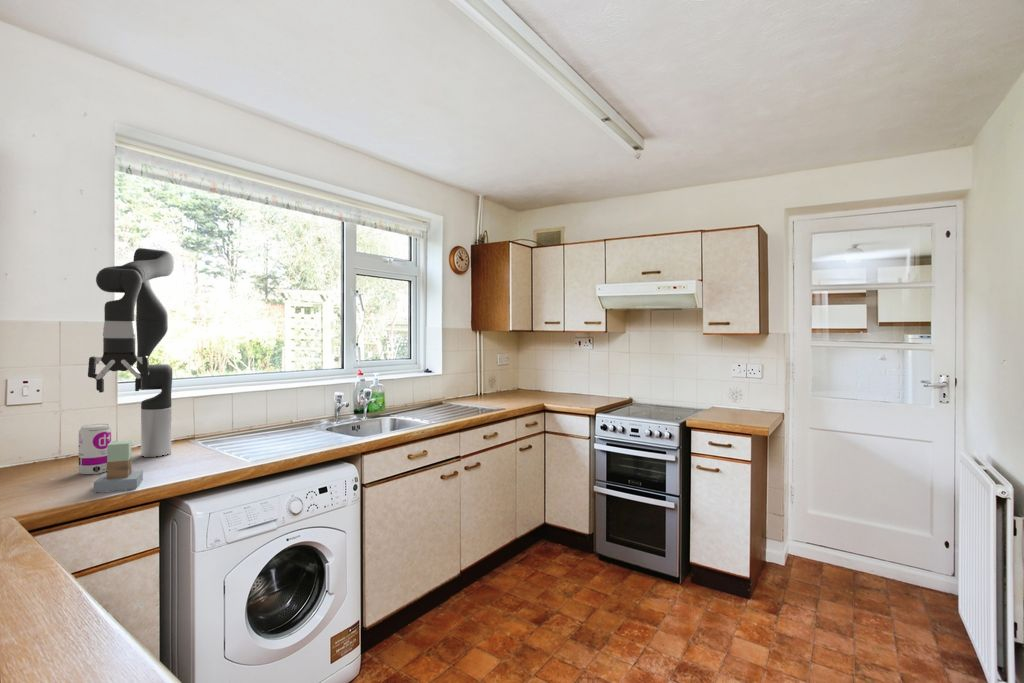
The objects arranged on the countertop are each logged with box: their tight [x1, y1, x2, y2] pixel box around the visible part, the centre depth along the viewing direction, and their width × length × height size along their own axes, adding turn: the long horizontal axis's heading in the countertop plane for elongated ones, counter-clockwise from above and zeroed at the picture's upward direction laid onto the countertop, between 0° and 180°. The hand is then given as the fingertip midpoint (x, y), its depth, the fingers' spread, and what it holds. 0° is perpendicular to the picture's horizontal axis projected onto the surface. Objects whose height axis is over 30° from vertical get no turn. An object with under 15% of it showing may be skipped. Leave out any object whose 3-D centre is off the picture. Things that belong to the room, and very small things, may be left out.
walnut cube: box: [106, 457, 132, 479], centre depth 152 cm, size 5×5×5 cm
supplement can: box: [78, 423, 112, 475], centre depth 166 cm, size 8×8×15 cm
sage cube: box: [107, 439, 132, 462], centre depth 152 cm, size 5×5×5 cm
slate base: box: [93, 469, 144, 494], centre depth 152 cm, size 10×10×3 cm
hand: (119, 391), depth 152 cm, fingers open, 8 cm apart
